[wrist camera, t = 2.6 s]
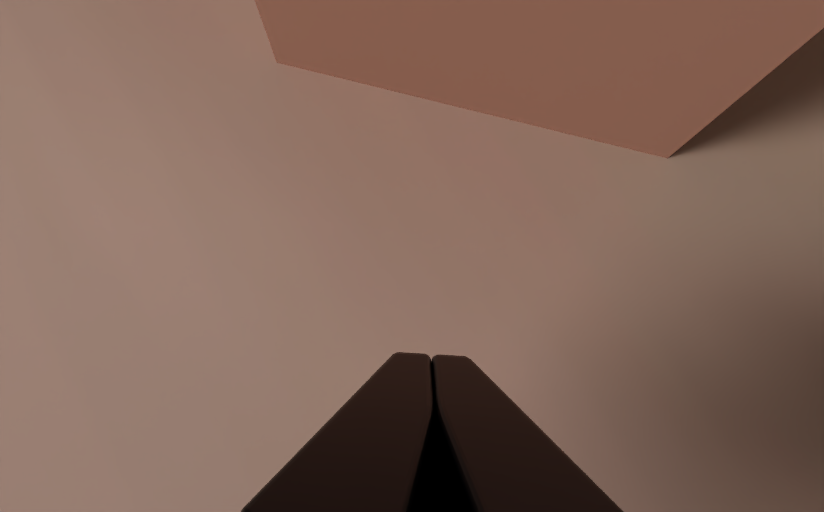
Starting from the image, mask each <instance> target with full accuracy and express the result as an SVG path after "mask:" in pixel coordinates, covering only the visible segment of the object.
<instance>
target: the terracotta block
mask: <svg viewBox="0 0 824 512" xmlns="http://www.w3.org/2000/svg"><path fill="white" fill-rule="evenodd" d="M255 2H256V5H257V8H258V10H259V13H260V16H261V19H262V22H263V25H264V28H265V30H266V33H267V36H268V39H269V42H270V45H271V47H272V50H273V53H274V56H275V59H276V62H277V63H281V64H285V65H289V66H293V67H298V68H302V69H306V70H310V71H314V72H318V73H322V74H326V75H330V76H334V77H338V78H342V79H346V80H351V81H355V82H359V83H363V84H367V85H371V86H375V87H379V88H383V89H387V90H391V91H395V92H399V93H404V94H408V95H412V96H416V97H420V98H424V99H428V100H432V101H436V102H440V103H444V104H448V105H452V106H457V107H461V108H465V109H469V110H473V111H477V112H481V113H485V114H489V115H493V116H497V117H501V118H505V119H510V120H514V121H518V122H522V123H526V124H530V125H534V126H538V127H542V128H546V129H550V130H554V131H558V132H562V133H567V134H571V135H575V136H579V137H583V138H587V139H591V140H595V141H599V142H603V143H607V144H611V145H615V146H620V147H624V148H628V149H632V150H636V151H640V152H644V153H648V154H652V155H656V156H660V157H664V158H668V157H670V156H671V155H672V154H673V153H674V152H676V151H677V150H678V149H679V148H680V147H682V146H683V145H684V144H685V143H686V142H688V141H689V140H690V139H691V138H692V137H694V136H695V135H696V134H697V133H698V132H699V131H701V130H702V129H703V128H704V127H705V126H707V125H708V124H709V123H710V122H711V121H713V120H714V119H715V118H716V117H717V116H719V115H720V114H721V113H722V112H723V111H725V110H726V109H727V108H728V107H729V106H731V105H732V104H733V103H734V102H735V101H737V100H738V99H739V98H740V97H741V96H743V95H744V94H745V93H746V92H747V91H749V90H750V89H751V88H752V87H753V86H755V85H756V84H757V83H758V82H759V81H761V80H762V79H763V78H764V77H765V76H767V75H768V74H769V73H770V72H771V71H773V70H774V69H775V68H776V67H777V66H779V65H780V64H781V63H782V62H783V61H785V60H786V59H787V58H788V57H789V56H790V55H792V54H793V53H794V52H795V51H796V50H798V49H799V48H800V47H801V46H802V45H804V44H805V43H806V42H807V41H808V40H810V39H811V38H812V37H813V36H814V35H816V34H817V33H818V32H819V31H820V30H822V29H823V28H824V0H255Z"/></svg>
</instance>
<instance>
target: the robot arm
mask: <svg viewBox="0 0 824 512" xmlns="http://www.w3.org/2000/svg"><path fill="white" fill-rule="evenodd" d="M241 512H623V511H622V510H621V509H620V508H619V507H618V506H617V505H616V504H615V503H614V502H613V501H612V500H611V499H610V498H609V497H608V496H607V495H606V494H605V493H604V492H603V491H602V490H601V489H600V488H599V487H598V486H597V485H596V484H595V483H594V482H593V481H592V480H591V479H590V478H589V477H588V476H587V475H586V474H585V473H584V472H583V471H582V470H581V469H580V468H579V467H578V466H577V465H576V464H575V463H574V462H573V461H572V460H571V459H570V458H569V457H568V456H567V455H566V454H565V453H564V452H563V451H562V450H561V449H560V448H559V447H558V446H557V445H556V444H555V443H554V442H553V441H552V440H551V439H550V438H549V437H548V436H547V435H546V434H545V433H544V432H543V431H542V430H541V429H540V428H539V427H538V426H537V425H536V424H535V423H534V422H533V421H532V420H531V419H530V418H529V417H528V416H527V415H526V414H525V413H524V412H523V411H522V410H521V409H520V408H519V407H518V406H517V405H516V404H515V403H514V402H513V401H512V400H511V399H510V398H509V397H508V396H507V395H506V394H505V393H504V392H503V391H502V390H501V389H500V388H499V387H498V386H497V385H496V384H495V383H494V382H493V381H492V380H491V379H490V378H489V377H488V376H487V375H486V374H485V373H484V372H483V371H482V370H481V369H480V368H479V367H478V366H477V365H476V364H475V363H474V362H473V361H472V360H471V359H469V358H468V357H466V356H453V355H436V356H434V357H433V358H432V361H431V359H430V357H429V356H428V355H427V354H420V353H403V352H397V353H395V354H393V355H392V356H391V357H390V358H389V359H388V360H387V361H386V362H385V363H384V364H383V365H382V366H381V367H380V368H379V369H378V370H377V371H376V372H375V373H374V374H373V375H372V376H371V378H370V379H369V380H368V381H367V382H366V383H365V384H364V385H363V386H362V387H361V388H360V389H359V390H358V391H357V392H356V393H355V394H354V395H353V396H352V397H351V398H350V399H349V400H348V401H347V402H346V403H345V404H344V405H343V406H342V407H341V408H340V409H339V410H338V411H337V412H336V413H335V414H334V416H333V417H332V418H331V419H330V420H329V421H328V422H327V423H326V424H325V425H324V426H323V427H322V428H321V429H320V430H319V431H318V432H317V433H316V434H315V435H314V436H313V437H312V438H311V439H310V440H309V441H308V442H307V443H306V444H305V445H304V446H303V447H302V448H301V449H300V450H299V451H298V452H297V454H296V455H295V456H294V457H293V458H292V459H291V460H290V461H289V462H288V463H287V464H286V465H285V466H284V467H283V468H282V469H281V470H280V471H279V472H278V473H277V474H276V475H275V476H274V477H273V478H272V479H271V480H270V481H269V482H268V483H267V484H266V485H265V486H264V487H263V488H262V489H261V490H260V492H259V493H258V494H257V495H256V496H255V497H254V498H253V499H252V500H251V501H250V502H249V503H248V504H247V505H246V506H245V507H244V508H243V509H242V511H241Z"/></svg>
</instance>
